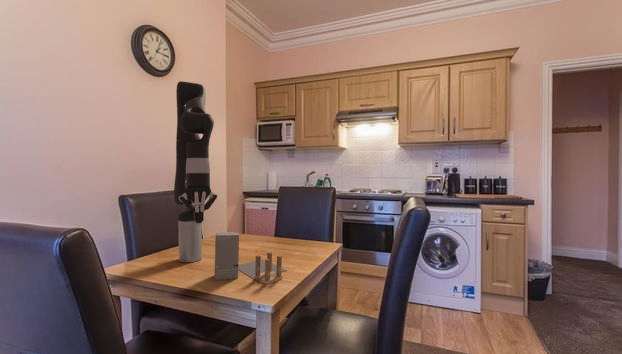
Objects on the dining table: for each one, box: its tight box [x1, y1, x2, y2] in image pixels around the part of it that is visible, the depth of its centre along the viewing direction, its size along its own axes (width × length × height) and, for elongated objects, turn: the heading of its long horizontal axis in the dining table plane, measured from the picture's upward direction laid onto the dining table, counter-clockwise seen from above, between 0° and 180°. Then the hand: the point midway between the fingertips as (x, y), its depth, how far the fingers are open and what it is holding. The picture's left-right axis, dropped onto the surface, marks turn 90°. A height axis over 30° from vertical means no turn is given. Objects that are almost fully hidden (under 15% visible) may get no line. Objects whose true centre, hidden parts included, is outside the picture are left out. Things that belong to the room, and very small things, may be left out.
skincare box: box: [214, 231, 240, 282], centre depth 106 cm, size 8×7×16 cm
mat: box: [238, 259, 288, 280], centre depth 115 cm, size 18×14×1 cm
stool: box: [253, 251, 283, 285], centre depth 103 cm, size 7×7×8 cm
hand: (198, 222), depth 100 cm, fingers closed
